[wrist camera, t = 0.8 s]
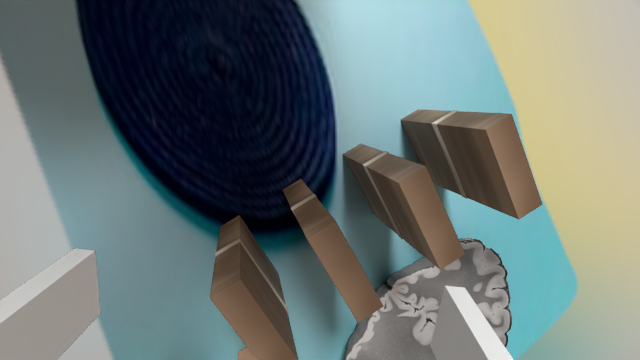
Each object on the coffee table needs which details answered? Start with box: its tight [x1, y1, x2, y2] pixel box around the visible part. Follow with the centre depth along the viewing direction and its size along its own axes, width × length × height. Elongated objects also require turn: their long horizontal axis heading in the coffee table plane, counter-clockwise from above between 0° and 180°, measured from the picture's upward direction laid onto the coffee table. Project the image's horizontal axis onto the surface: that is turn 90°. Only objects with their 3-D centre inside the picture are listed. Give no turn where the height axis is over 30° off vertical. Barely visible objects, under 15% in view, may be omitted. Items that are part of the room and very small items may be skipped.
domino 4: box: [401, 110, 542, 219], centre depth 29 cm, size 2×7×12 cm, turn 29°
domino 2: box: [283, 179, 384, 323], centre depth 28 cm, size 2×7×12 cm, turn 28°
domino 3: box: [343, 144, 465, 270], centre depth 28 cm, size 2×7×12 cm, turn 29°
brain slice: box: [345, 238, 512, 360], centre depth 38 cm, size 20×17×3 cm
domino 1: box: [210, 215, 298, 360], centre depth 27 cm, size 2×7×12 cm, turn 28°
